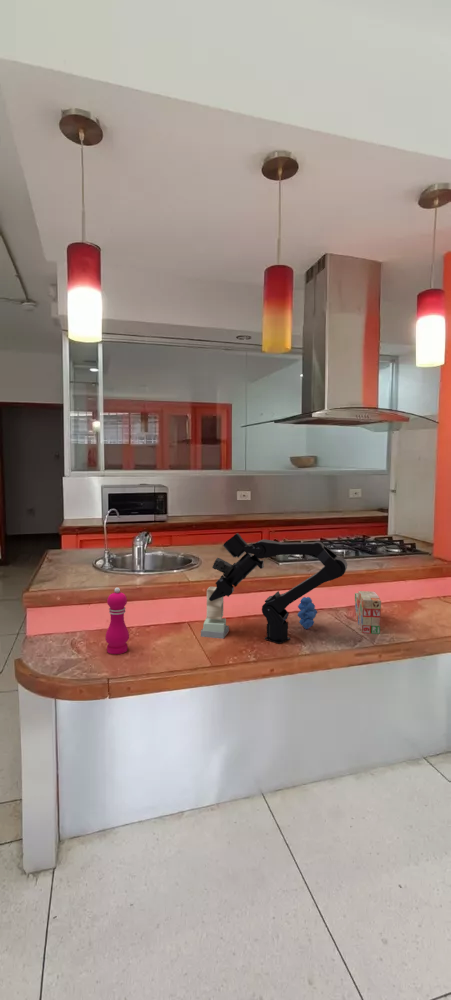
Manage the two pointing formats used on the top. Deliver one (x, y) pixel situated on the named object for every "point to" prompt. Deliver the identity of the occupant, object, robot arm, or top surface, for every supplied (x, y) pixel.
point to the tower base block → (215, 633)
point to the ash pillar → (214, 605)
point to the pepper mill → (117, 624)
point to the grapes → (306, 612)
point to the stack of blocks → (368, 611)
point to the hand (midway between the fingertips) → (211, 598)
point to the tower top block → (214, 625)
